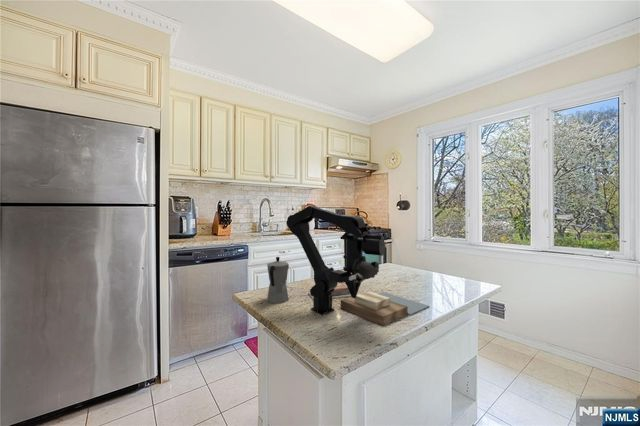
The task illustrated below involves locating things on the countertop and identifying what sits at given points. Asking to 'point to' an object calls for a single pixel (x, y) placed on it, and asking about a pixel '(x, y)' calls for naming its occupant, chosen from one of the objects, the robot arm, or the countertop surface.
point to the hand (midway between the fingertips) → (353, 297)
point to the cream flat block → (372, 300)
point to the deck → (376, 311)
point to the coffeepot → (277, 281)
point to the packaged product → (338, 291)
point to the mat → (406, 303)
